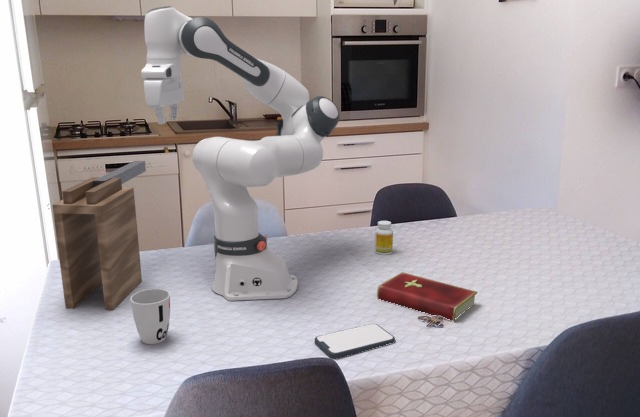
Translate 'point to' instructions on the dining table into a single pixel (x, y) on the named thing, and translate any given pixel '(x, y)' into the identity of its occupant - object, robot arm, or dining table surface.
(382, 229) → the supplement bottle
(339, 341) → the smartphone
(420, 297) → the hardcover book
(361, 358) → the dining table surface
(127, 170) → the bar
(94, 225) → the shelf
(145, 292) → the cup
